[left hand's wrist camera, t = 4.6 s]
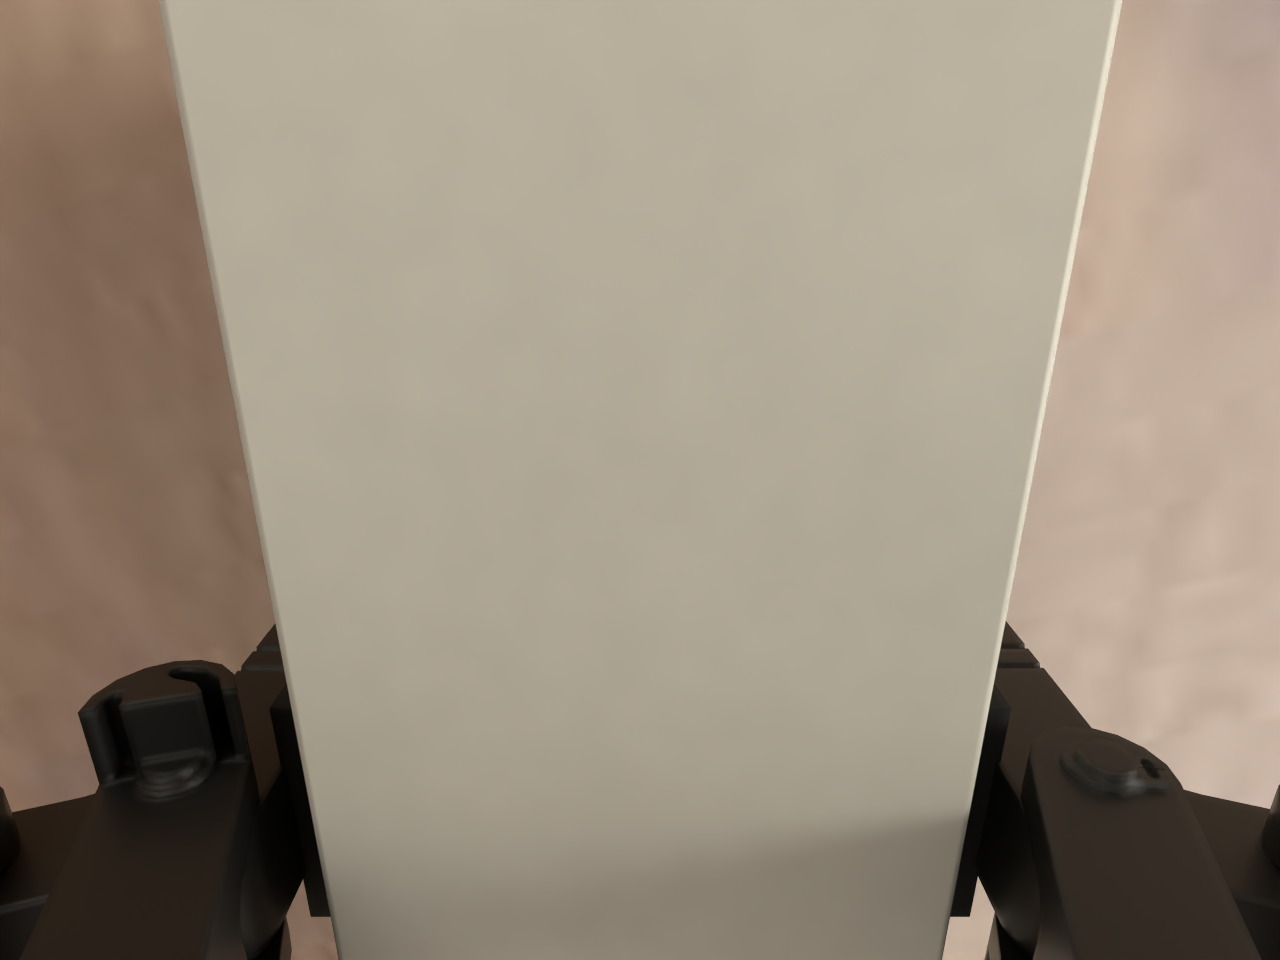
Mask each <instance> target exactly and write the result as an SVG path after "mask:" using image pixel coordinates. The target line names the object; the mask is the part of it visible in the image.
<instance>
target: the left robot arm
mask: <svg viewBox="0 0 1280 960" xmlns="http://www.w3.org/2000/svg"><path fill="white" fill-rule="evenodd" d="M78 715H79V718H80V721H81V725H82V728H83V731H84V735H85V738H86V741H87V744H88V748H89V751H90V754H91V758H92V761H93V764H94V767H95V771H96V774H97V777H98V781H99V784H100V785H99V787H98V789H97V791H96V793H95V794H92V795H89V796H85V797H82V798H77V799H73V800H68V801H63V802H59V803H54V804H49V805H45V806H40V807H36V808H31V809H26V810H22V811H17V812H11V809H10V807H9V804H8V801H7V798H6V795H5V793H4V790H3V788H1V787H0V960H291V951H292V948H291V940H290V933H289V928H288V923H287V918H286V914H287V912H288V910H289V908H290V905H291V903H292V901H293V899H294V897H295V895H296V893H297V891H298V888H299V886H300V884H301V882H302V880H304V885H305V890H306V895H307V900H308V905H309V910H310V915H311V917H331V915H330V910H329V905H328V899H327V894H326V889H325V884H324V878H323V873H322V868H321V862H320V857H319V852H318V846H317V841H316V836H315V830H314V825H313V820H312V814H311V809H310V804H309V799H308V793H307V788H306V783H305V777H304V772H303V767H302V761H301V756H300V751H299V745H298V740H297V735H296V729H295V724H294V719H293V714H292V708H291V703H290V698H289V692H288V687H287V682H286V676H285V671H284V666H283V660H282V655H281V650H280V645H279V639H278V634H277V629H276V624H275V625H274V626H273V627H272V628H271V630H270V631H269V632H268V633H267V635H266V636H265V637H264V638H263V640H262V641H261V642H260V643H259V645H258V646H257V651H256V652H252V654H251V655H250V656H249V657H248V659H247V660H246V661H245V662H244V664H243V665H242V669H241V671H237V672H236V674H235V675H234V674H233V673H232V672H231V671H229V670H228V669H227V668H226V667H224V666H223V665H222V664H218V663H213V662H208V661H203V660H192V661H174V662H170V663H166V664H161V665H157V666H153V667H148V668H145V669H142V670H140V671H137V672H135V673H133V674H130V675H128V676H125V677H123V678H120V679H118V680H116V681H114V682H113V683H111V684H110V685H108V686H107V687H105V688H104V689H102V690H101V691H99V692H97V693H96V694H94V695H93V696H92V697H91V698H90V699H89V700H88V702H87V703H86V704H85V705H84V706H83V707H82V708H81V710H80V711H79V712H78ZM978 877H979V879H980V881H981V883H982V885H983V887H984V889H985V892H986V894H987V896H988V898H989V900H990V902H991V904H992V906H993V908H994V911H995V914H994V918H993V923H992V928H991V932H990V937H989V942H988V946H987V951H986V956H985V960H1280V785H1279V786H1278V789H1277V792H1276V795H1275V797H1274V800H1273V803H1272V806H1271V809H1267V808H1262V807H1257V806H1253V805H1248V804H1243V803H1238V802H1234V801H1229V800H1224V799H1220V798H1215V797H1210V796H1206V795H1201V794H1198V793H1194V792H1190V791H1187V790H1183V787H1182V785H1181V783H1180V782H1179V781H1178V779H1177V778H1176V777H1175V775H1174V774H1173V773H1172V771H1171V770H1170V769H1169V767H1168V766H1167V765H1166V764H1165V763H1164V762H1162V761H1161V760H1160V759H1158V758H1157V757H1156V756H1154V755H1153V754H1152V753H1150V752H1149V751H1148V750H1146V749H1145V748H1143V747H1141V746H1139V745H1137V744H1135V743H1133V742H1131V741H1129V740H1126V739H1124V738H1122V737H1120V736H1118V735H1115V734H1111V733H1107V732H1104V731H1100V730H1096V729H1092V728H1091V727H1090V726H1089V724H1088V723H1087V722H1086V721H1085V719H1084V718H1083V717H1082V716H1081V714H1080V713H1079V712H1078V711H1077V709H1076V708H1075V707H1074V706H1073V704H1072V703H1071V702H1070V701H1069V699H1068V698H1067V697H1066V696H1065V694H1064V693H1063V692H1062V691H1061V689H1060V688H1059V687H1058V686H1057V684H1056V683H1055V682H1054V681H1053V679H1052V678H1051V677H1050V676H1049V674H1048V673H1047V672H1046V671H1045V669H1044V668H1040V663H1039V662H1038V661H1037V659H1036V658H1035V657H1034V656H1033V654H1032V653H1031V652H1030V651H1029V649H1025V647H1024V643H1023V642H1022V641H1021V639H1020V638H1019V637H1018V636H1017V634H1016V633H1015V632H1014V631H1013V629H1012V628H1011V627H1010V626H1009V624H1008V623H1007V622H1006V621H1005V627H1004V632H1003V637H1002V643H1001V648H1000V653H999V658H998V664H997V669H996V674H995V680H994V685H993V690H992V696H991V701H990V706H989V712H988V717H987V722H986V728H985V733H984V738H983V743H982V749H981V754H980V759H979V765H978V770H977V775H976V781H975V786H974V791H973V797H972V802H971V807H970V812H969V818H968V823H967V828H966V834H965V839H964V844H963V850H962V855H961V860H960V866H959V871H958V876H957V881H956V887H955V892H954V897H953V903H952V908H951V913H950V917H970V912H971V907H972V902H973V897H974V892H975V887H976V883H977V878H978Z"/></svg>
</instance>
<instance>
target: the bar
mask: <svg viewBox="0 0 1280 960" xmlns="http://www.w3.org/2000/svg"><path fill="white" fill-rule="evenodd" d="M158 2H159V7H160V12H161V18H162V23H163V28H164V34H165V39H166V44H167V50H168V55H169V60H170V66H171V71H172V76H173V81H174V87H175V92H176V97H177V103H178V108H179V113H180V119H181V124H182V129H183V135H184V140H185V145H186V151H187V156H188V161H189V166H190V172H191V177H192V182H193V188H194V193H195V198H196V204H197V209H198V214H199V220H200V225H201V230H202V236H203V241H204V246H205V251H206V257H207V262H208V267H209V273H210V278H211V283H212V289H213V294H214V299H215V305H216V310H217V315H218V321H219V326H220V331H221V336H222V342H223V347H224V352H225V358H226V363H227V368H228V374H229V379H230V384H231V390H232V395H233V400H234V405H235V411H236V416H237V421H238V427H239V432H240V437H241V443H242V448H243V453H244V459H245V464H246V469H247V475H248V480H249V485H250V490H251V496H252V501H253V506H254V512H255V517H256V522H257V528H258V533H259V538H260V544H261V549H262V554H263V560H264V565H265V570H266V575H267V581H268V586H269V591H270V597H271V602H272V607H273V613H274V618H275V623H276V629H277V634H278V639H279V645H280V650H281V655H282V660H283V666H284V671H285V676H286V682H287V687H288V692H289V698H290V703H291V708H292V714H293V719H294V724H295V729H296V735H297V740H298V745H299V751H300V756H301V761H302V767H303V772H304V777H305V783H306V788H307V793H308V799H309V804H310V809H311V814H312V820H313V825H314V830H315V836H316V841H317V846H318V852H319V857H320V862H321V868H322V873H323V878H324V884H325V889H326V894H327V899H328V905H329V910H330V915H331V921H332V926H333V931H334V937H335V942H336V947H337V953H338V958H339V960H942V956H943V950H944V945H945V940H946V935H947V929H948V924H949V919H950V913H951V908H952V903H953V897H954V892H955V887H956V881H957V876H958V871H959V866H960V860H961V855H962V850H963V844H964V839H965V834H966V828H967V823H968V818H969V812H970V807H971V802H972V797H973V791H974V786H975V781H976V775H977V770H978V765H979V759H980V754H981V749H982V743H983V738H984V733H985V728H986V722H987V717H988V712H989V706H990V701H991V696H992V690H993V685H994V680H995V674H996V669H997V664H998V658H999V653H1000V648H1001V643H1002V637H1003V632H1004V627H1005V621H1006V616H1007V611H1008V605H1009V600H1010V595H1011V589H1012V584H1013V579H1014V574H1015V568H1016V563H1017V558H1018V552H1019V547H1020V542H1021V536H1022V531H1023V526H1024V520H1025V515H1026V510H1027V505H1028V499H1029V494H1030V489H1031V483H1032V478H1033V473H1034V467H1035V462H1036V457H1037V451H1038V446H1039V441H1040V435H1041V430H1042V425H1043V420H1044V414H1045V409H1046V404H1047V398H1048V393H1049V388H1050V382H1051V377H1052V372H1053V366H1054V361H1055V356H1056V351H1057V345H1058V340H1059V335H1060V329H1061V324H1062V319H1063V313H1064V308H1065V303H1066V297H1067V292H1068V287H1069V282H1070V276H1071V271H1072V266H1073V260H1074V255H1075V250H1076V244H1077V239H1078V234H1079V228H1080V223H1081V218H1082V213H1083V207H1084V202H1085V197H1086V191H1087V186H1088V181H1089V175H1090V170H1091V165H1092V159H1093V154H1094V149H1095V143H1096V138H1097V133H1098V128H1099V122H1100V117H1101V112H1102V106H1103V101H1104V96H1105V90H1106V85H1107V80H1108V74H1109V69H1110V64H1111V59H1112V53H1113V48H1114V43H1115V37H1116V32H1117V27H1118V21H1119V16H1120V11H1121V5H1122V0H158Z"/></svg>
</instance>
